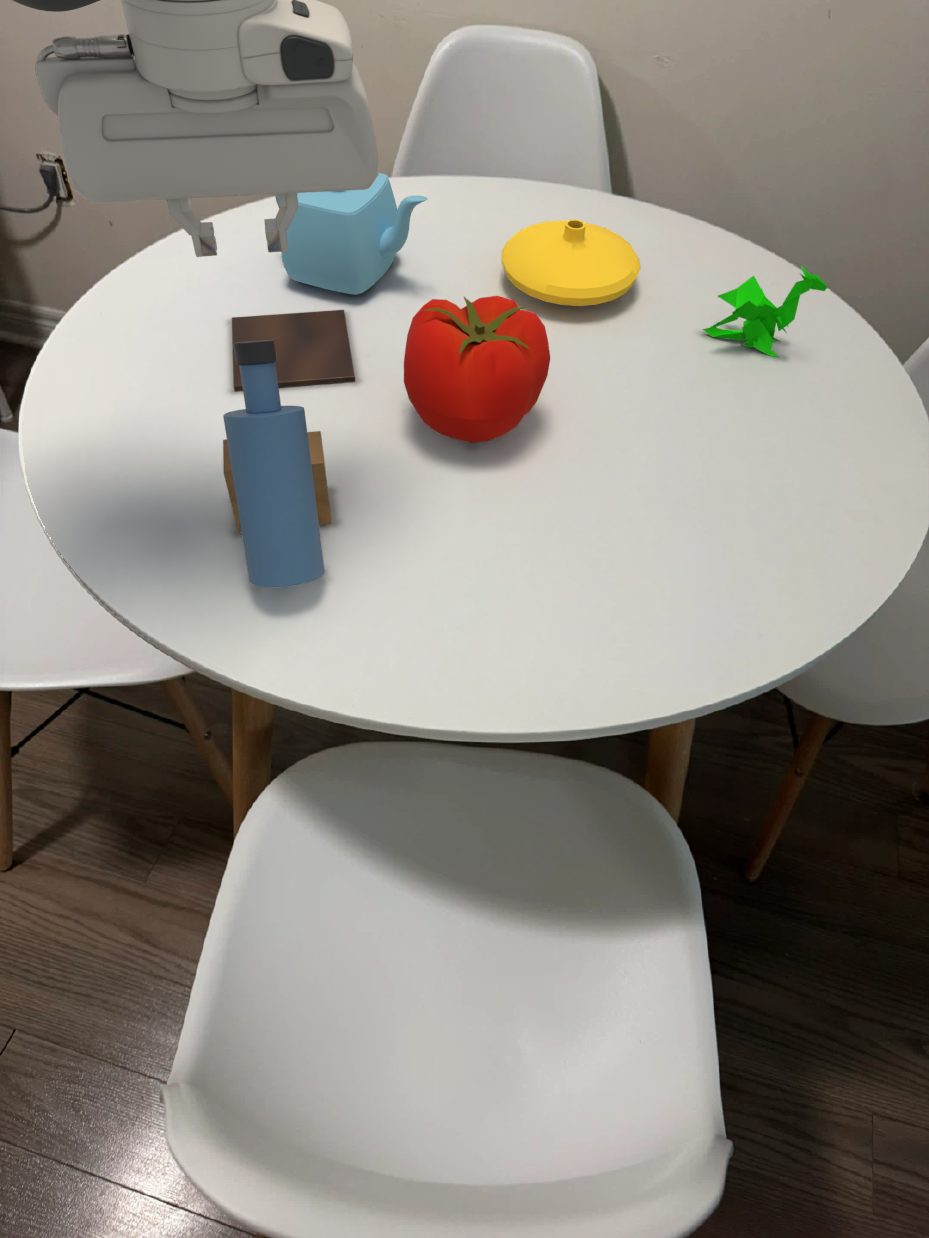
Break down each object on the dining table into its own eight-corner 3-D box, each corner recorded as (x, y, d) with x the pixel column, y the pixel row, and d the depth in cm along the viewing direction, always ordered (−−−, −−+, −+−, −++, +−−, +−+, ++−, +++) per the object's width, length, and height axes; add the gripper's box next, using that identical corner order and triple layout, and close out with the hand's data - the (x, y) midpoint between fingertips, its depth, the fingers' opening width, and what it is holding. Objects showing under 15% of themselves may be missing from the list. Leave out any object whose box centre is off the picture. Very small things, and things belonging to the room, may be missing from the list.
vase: (480, 258, 104) (483, 199, 99) (600, 240, 108) (609, 182, 102) (530, 333, 95) (536, 272, 89) (659, 310, 99) (673, 250, 93)
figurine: (814, 367, 92) (829, 285, 85) (697, 362, 95) (702, 283, 88) (818, 335, 95) (832, 253, 89) (704, 331, 99) (710, 252, 92)
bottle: (252, 616, 70) (209, 437, 56) (249, 506, 78) (210, 326, 64) (328, 607, 70) (304, 428, 57) (317, 499, 78) (293, 320, 65)
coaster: (234, 391, 87) (233, 386, 87) (232, 322, 94) (231, 317, 94) (355, 381, 89) (354, 376, 88) (344, 314, 96) (343, 309, 96)
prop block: (238, 533, 75) (223, 472, 70) (237, 500, 78) (222, 439, 72) (331, 523, 76) (324, 462, 71) (328, 492, 79) (320, 430, 73)
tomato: (401, 461, 82) (397, 353, 72) (412, 368, 90) (410, 262, 81) (543, 468, 82) (558, 361, 72) (540, 375, 90) (553, 269, 81)
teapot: (406, 320, 96) (403, 217, 87) (259, 283, 99) (242, 180, 90) (447, 264, 103) (449, 164, 94) (309, 232, 107) (298, 133, 98)
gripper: (17, 59, 50) (90, 283, 61) (377, 48, 52) (385, 265, 63) (31, 18, 54) (97, 236, 64) (365, 11, 56) (375, 221, 67)
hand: (242, 250), depth 64 cm, fingers open, 4 cm apart
